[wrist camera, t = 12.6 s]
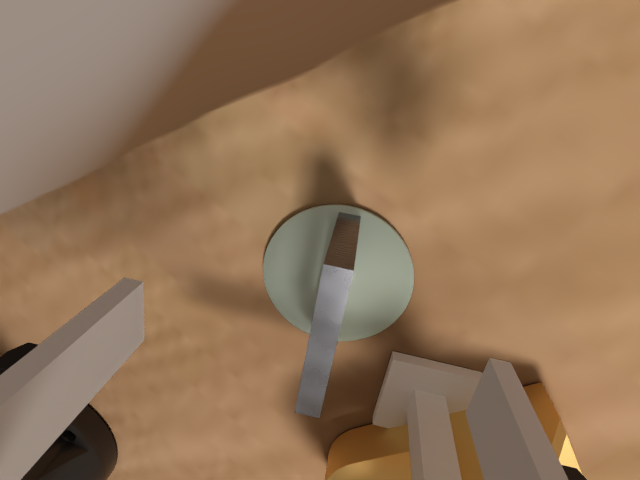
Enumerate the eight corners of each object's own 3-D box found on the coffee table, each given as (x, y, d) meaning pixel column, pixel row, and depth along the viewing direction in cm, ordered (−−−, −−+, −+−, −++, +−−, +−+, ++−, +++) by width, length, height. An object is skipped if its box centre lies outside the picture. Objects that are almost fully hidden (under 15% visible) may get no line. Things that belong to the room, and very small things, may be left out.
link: (315, 331, 30) (294, 412, 23) (338, 211, 26) (323, 263, 19) (334, 335, 30) (319, 418, 23) (360, 216, 26) (353, 270, 19)
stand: (233, 380, 34) (93, 662, 18) (239, 315, 31) (80, 578, 15) (454, 435, 33) (526, 796, 16) (482, 372, 30) (603, 732, 13)
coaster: (257, 319, 31) (255, 322, 31) (273, 189, 27) (272, 191, 26) (392, 351, 30) (392, 355, 30) (432, 222, 26) (433, 225, 25)
